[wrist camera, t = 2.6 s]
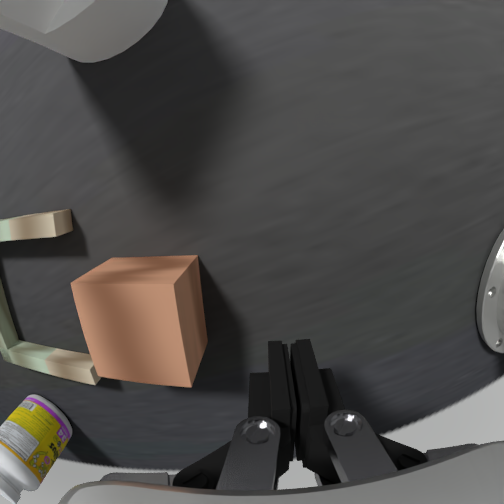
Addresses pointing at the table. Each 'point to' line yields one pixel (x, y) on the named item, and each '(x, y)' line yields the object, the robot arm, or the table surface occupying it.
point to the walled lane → (3, 331)
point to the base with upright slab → (81, 24)
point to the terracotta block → (144, 318)
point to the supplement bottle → (30, 445)
